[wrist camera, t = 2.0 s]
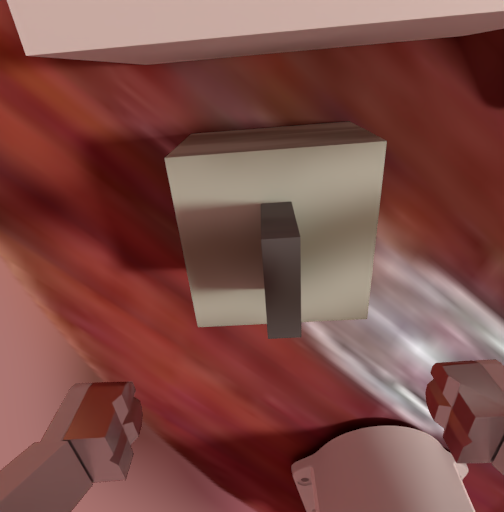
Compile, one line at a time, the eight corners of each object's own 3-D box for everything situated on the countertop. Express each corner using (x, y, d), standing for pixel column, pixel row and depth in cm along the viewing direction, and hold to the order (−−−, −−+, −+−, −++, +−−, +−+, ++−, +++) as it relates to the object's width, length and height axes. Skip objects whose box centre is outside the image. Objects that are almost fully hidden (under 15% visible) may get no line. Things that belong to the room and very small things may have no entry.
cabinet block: (341, 260, 26) (390, 372, 16) (212, 267, 26) (185, 380, 17) (349, 121, 21) (426, 162, 11) (191, 133, 21) (135, 183, 12)
